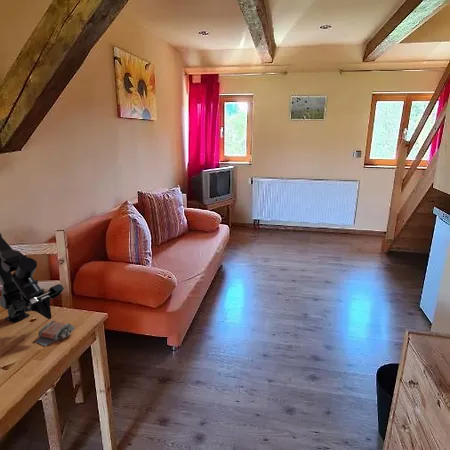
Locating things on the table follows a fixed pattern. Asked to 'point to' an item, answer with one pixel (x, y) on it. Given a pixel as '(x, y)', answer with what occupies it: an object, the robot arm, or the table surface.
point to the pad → (44, 341)
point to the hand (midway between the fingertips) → (50, 318)
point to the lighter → (56, 330)
